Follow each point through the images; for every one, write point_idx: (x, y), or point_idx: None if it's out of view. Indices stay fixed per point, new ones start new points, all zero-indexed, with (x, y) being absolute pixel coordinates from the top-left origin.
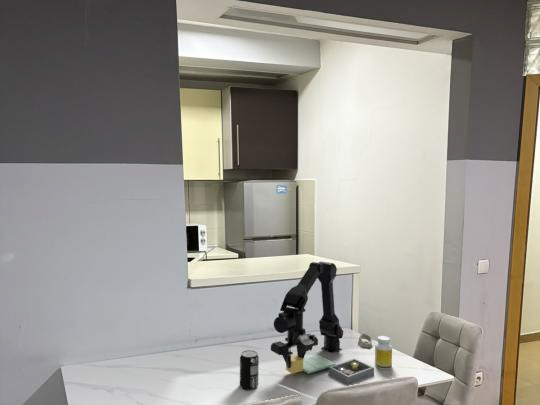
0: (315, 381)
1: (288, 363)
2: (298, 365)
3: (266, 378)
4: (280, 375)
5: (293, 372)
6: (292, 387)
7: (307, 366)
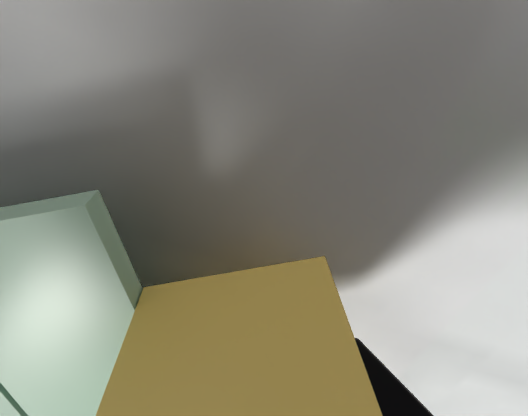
0: (42, 42)
1: (424, 410)
2: (220, 349)
3: (517, 307)
4: (372, 316)
5: (312, 267)
6: (448, 18)
7: (42, 341)
